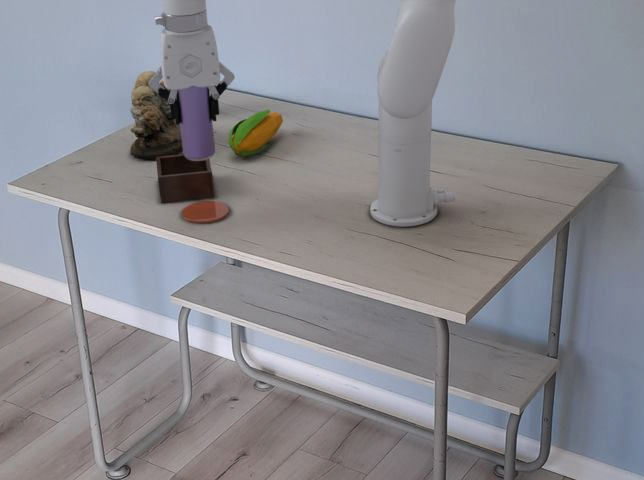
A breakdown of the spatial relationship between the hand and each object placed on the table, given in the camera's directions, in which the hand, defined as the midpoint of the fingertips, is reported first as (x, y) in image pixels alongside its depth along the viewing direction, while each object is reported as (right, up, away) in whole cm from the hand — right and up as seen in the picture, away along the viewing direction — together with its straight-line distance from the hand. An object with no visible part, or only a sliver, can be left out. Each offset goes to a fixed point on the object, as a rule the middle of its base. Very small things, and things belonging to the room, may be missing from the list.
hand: (195, 119), depth 187 cm
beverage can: (0, -6, +4) cm, 7 cm away
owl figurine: (-12, +3, +40) cm, 41 cm away
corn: (+10, +2, +38) cm, 39 cm away
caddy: (-4, -10, +20) cm, 23 cm away
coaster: (+1, -16, +10) cm, 19 cm away
